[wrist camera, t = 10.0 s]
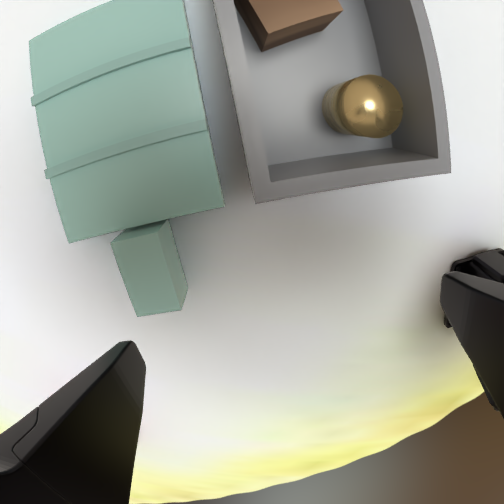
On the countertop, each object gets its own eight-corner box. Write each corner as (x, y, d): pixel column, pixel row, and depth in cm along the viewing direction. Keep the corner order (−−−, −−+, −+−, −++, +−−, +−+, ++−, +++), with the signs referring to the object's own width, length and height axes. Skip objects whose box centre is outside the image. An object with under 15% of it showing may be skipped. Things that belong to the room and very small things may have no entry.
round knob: (375, 132, 17) (406, 135, 14) (326, 137, 18) (349, 141, 14) (367, 81, 16) (397, 73, 13) (317, 85, 16) (338, 76, 13)
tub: (398, 157, 19) (451, 173, 13) (249, 180, 19) (255, 204, 14) (358, -33, 14) (394, -71, 8) (207, -24, 14) (197, -71, 8)
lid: (242, 277, 22) (243, 299, 19) (103, 301, 22) (88, 323, 19) (182, -11, 14) (174, -31, 12) (40, 44, 15) (17, 37, 12)
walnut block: (322, 30, 15) (343, 10, 11) (261, 52, 15) (268, 33, 12) (292, -21, 14) (305, -50, 10) (231, -1, 14) (230, -29, 10)
